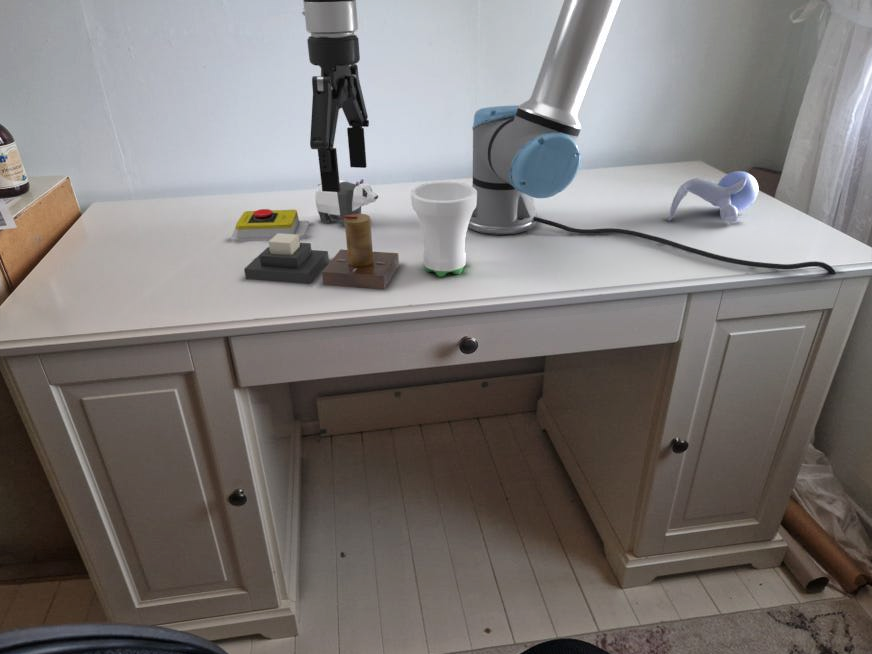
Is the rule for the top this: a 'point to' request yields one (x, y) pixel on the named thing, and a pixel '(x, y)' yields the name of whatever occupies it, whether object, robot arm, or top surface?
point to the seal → (721, 193)
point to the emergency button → (268, 225)
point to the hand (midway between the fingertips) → (345, 178)
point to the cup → (444, 223)
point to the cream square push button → (284, 244)
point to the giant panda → (343, 200)
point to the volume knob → (359, 240)
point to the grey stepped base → (288, 265)
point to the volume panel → (361, 271)
